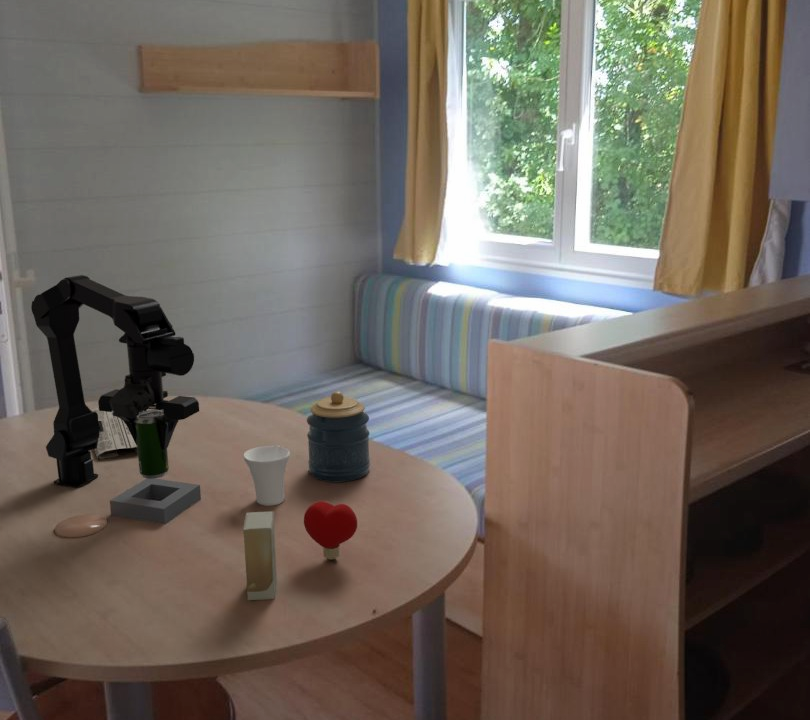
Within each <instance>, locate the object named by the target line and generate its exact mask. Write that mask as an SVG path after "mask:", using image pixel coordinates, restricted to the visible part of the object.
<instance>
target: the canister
mask: <svg viewBox="0 0 810 720" xmlns="http://www.w3.org/2000/svg"><path fill="white" fill-rule="evenodd" d="M365 408H366V407H365V405H364V404H363V403H361V402H360V401H358V400H357V398H356V399H355V398H354V397H349V396H344V394H343V393H342V392H341V391H339V390H338V391H333V392H332V394H331V395H330V397H325V398H321V399H319V400H318V401H317V402H316V403H314V404H312V405H311V406H310V408H309V411H310V412H311V413H310V415H308V416H307V418H306V423H307V424H308V425H309V430H308V431H307V434H306V436H307V439H308V442H307V443H308V463H307V464H308V469H309V473H310V476H312V477H313V478H315V479H317V480H319V481H324V482H331V483H342V482H343V483H344V482H350V481H355V480H358V479H361V478H363V477H365V476H366V475H367V474H368V473H369V471H370V466H371V463H370V462H371V458H370V447H369V446H370V442H369V439H370V438H369V437H370V431H369V429H368V427H367V423H369V421H370V417H369V415H368V414H367V413H366V412H364V411H365V410H366V409H365Z"/></svg>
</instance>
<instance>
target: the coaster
mask: <svg viewBox="0 0 810 720" xmlns="http://www.w3.org/2000/svg"><path fill="white" fill-rule="evenodd" d="M107 525H108V521H107V518H105V516H102V515H98V514H81V515H75V516H71V517H67V518H66V519H63V520H61V521H59V522H58V523H57V524H56V526H55V527H54V532H55V534H56V535H57V536H59V537H62V538H69V539H74V538H75V539H76V538H78V539H79V538H83V537H89V536H92V535H95V534H96V533H99V532H101V531H103V530H104V529H105V528H106V527H107Z"/></svg>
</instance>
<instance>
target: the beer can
mask: <svg viewBox="0 0 810 720" xmlns="http://www.w3.org/2000/svg"><path fill="white" fill-rule="evenodd" d="M160 416H162V410H154V409H147V410H146V411H142V412H139V415H138V416H137V417H136V419H135V428H136V439H137V450H138V453H137V459H138V471H139V474H140V475H141V477H142V478H144V479H161V478H162V477H165V476H166V475H167V474H168V472H169V466H170V465H169V455H168V448H167V449H165V450H163V449H162V444H161V434H160V425H159V423H158V422H157V421H156V420H155V419H156V418H158V417H160Z"/></svg>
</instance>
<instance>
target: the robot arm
mask: <svg viewBox="0 0 810 720" xmlns="http://www.w3.org/2000/svg"><path fill="white" fill-rule="evenodd" d="M84 305H85V306H86V307H89V308H90V309H94V310H95V311H97V312H99V313H101V314H104V315H105V316H108V317H109V318H110V319H112V322H113V324H114V326H115V327H117V329H119V330H121V331H122V332H124V334H123V335H121V337H119V339H118V342H119V343H120V344H125V345H126V348H127V359H128V373H129V374H127V375H125V376H124V377H125V378H124V386H123V387H122V388H120V389H117V388H115V389H113V390H111V391H108V392H106V393H103V394H101V395H100V396H99V399H98V401H97V403H98V408H99V411H106V412H112V411H113V415H114V416H116V417H119V418H120V419H122V420H123V421H124V422H125V424H126V426H127V427H128V429H129V431H130V433H131V435H132V437H133V439H134V441H135V443H136V445H137V439H136V428H135V419H136V417H137V416H138V415H139V412H142V411H148V410H158V411H161V412H162V416H160V417H158V418H156V419H155V420H156V421H157V422H158V423H159V425H160V434H161V444H162V449H163V450H165V449H167V450H168V448H169V445H170V442H171V440H172V437H173V435H174V431H175V429H176V426H178V425H177V424H178V422H179V421H182V420H186V419H188V418H189V417H192V416H193V415H195V414H197V413H198V412H200V403H199V400H198V399H197V398H196V397H194V396H186V395H185V396H184V395H183V396H182V395H178V396H175V397H174V398H172V399H170V400H168V399H167V400H165V398H167V397H168V396H169V395H168V391H167V390H164V386H163V378H164V377H165V376H167V374H170V375H173V376H178V377H179V376H183V377H184V376H185V375H187V374H188V373H189V372H190V371H192V368H193V367H194V366H193V365H194V362H195V354H194V352H193V350H192V348H191V347H190V346H189V345H188V344H185V339H184V337H182V336H176V331H175V330H174V328H173V324H171V322H170V320H169V319H168V317H167V315H166V313H165V312H164V311H163V307H161V304H160V303H159V302H158V301H157V300H156V299H155V298H151V297H145V296H136V295H135V296H132V295H131V296H130V295H125V294H123V293H121V292H119V291H116V290H114V289H112V288H110V287H107V286H105V285H103V284H101V283H99V282H96V281H95V280H92V279H90V277H89V276H87V275H83V274H79V275H73V276H67V277H66V276H65V277H64V278H63V279H61V280H59V282H58V283H57V284H56V285H54V286H52V287H50V288H48V289H47V290H44V291H43V292H41V293H40V294H37V295H36V296H35V297H34V298H33V300H32V301H31V308H30V309H31V314H32V315H33V318H34V322H35V325H36V327H37V328H38V329H39V330H40V331H41V333H42V334H43V335H44V336H45V337H46V339H47V344H48V350H49V356H50V362H51V367H52V374H53V379H54V385H55V389H56V397H57V403H58V410H57V412H56V415H55V417H54V420H53V435H52V437H51V438H50V440H49V441H48V443H47V444H46V446H45V449H46V452H47V456H48V457H49V458H53V459H56V467H57V474H58V475H57V476H58V478H57V479H55V480H53V485H59V486H60V485H61V486H66V487H74V488H81V487H82V486H84V485H85V484H87V483H89V482H91V481H93V480H95V479H97V478H98V477H99V474H98V473H94V472H95V470H94V461H93V458H92V454H91V451H93V450H94V449H96V448H97V445H98V439H99V435H100V433H99V432H100V430H101V429H100V426H99V423H98V414H97V413H96V412H92V411H91V410H92V409H90V407H88V406H87V404H86V401H85V396H84V389H83V384H82V376H81V372H80V365H79V359H78V353H77V347H76V341H75V332H76V330H77V327H78V324H79V321H80V309H81V307H83V306H84Z"/></svg>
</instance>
